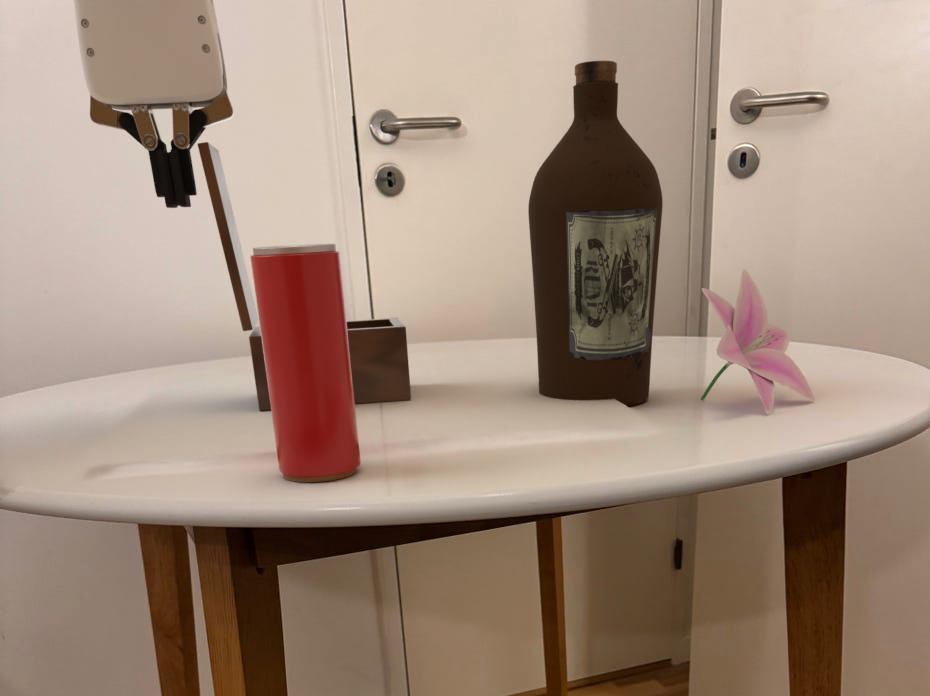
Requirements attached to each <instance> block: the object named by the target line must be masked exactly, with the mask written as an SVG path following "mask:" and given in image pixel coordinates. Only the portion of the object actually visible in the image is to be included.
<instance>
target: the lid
mask: <svg viewBox="0 0 930 696" xmlns="http://www.w3.org/2000/svg"><path fill="white" fill-rule="evenodd" d="M197 147H198V149H197V150H198V152H199V157H200V161H201V164H202V169H203V173H204V178H205V181H206V185H207V189H208V194H209V198H210V201H211V205H212V209H213V214H214V219H215V222H216V226H217V230H218V235H219V238H220V242H221V247H222V250H223V255H224V260H225V264H226V267H227V271H228V275H229V280H230V283H231V288H232V292H233V297H234V300H235V304H236V308H237V312H238V317H239V320H240V324H241V329H242V331H243V332H247V331H253V330H254V328H255V327H256V325H257V323H258V321H259V316H258V311H257V308H256V304H255V299H254V296H253V290H252V287H251V283H250V278H249V274H248V270H247V266H246V262H245V257H244V252H243V249H242V244H241V240H240V236H239V231H238V228H237V224H236V223H237V222H236V219H235V215H234V211H233V206H232V203H231V198H230V194H229V190H228V189H229V188H228V184H227V181H226V176H225V173H224V168H223V163H222V159H221V156H220V155H221V154H220V151H219V150H218V149H217V148H216V147H215V146H213V145H212V144H211V143H209V142H208V141H205V142H198V143H197Z"/></svg>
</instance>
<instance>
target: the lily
mask: <svg viewBox="0 0 930 696" xmlns="http://www.w3.org/2000/svg"><path fill="white" fill-rule="evenodd" d="M701 291H702V293H703V295H704V296H705V297H706V299H707V301H708V302H709V303H710V305H711V306H712V308H713V310H714V311H715V313H716V314H717V316H718V317H719V319H720V321H721V323H722V324H723V325H724V327H725V330H724V333H723V334H722V336H721V338H720V340H719V342H718V344H717V347H716V355H717V356H718V358H720V359H722V360H724V361H725V362H726V363H725V364H724V365H723V367H721V369H719V371H718V372H717V373H716V375H715V376H713V378H712V380H711V382H710V383H709V385H708V386H707V388H706V389H705V390H704V392H703V394H702V396H701V397H700V400H701V401H705V399H706V397H707V396H708V395H709V392H710V391H711V390H712V388H713V387H714V385H715V384H716V382H717V381H718V379H719V378H720V376H722V374H723V373H724V372H725V371H726V370H727V369H728V368H729V367H730V366H731V365H733V364H735V365H738V366H740V367H743V368H744V369H746V370H747V371H748V374H749V375H750V378H751V379H752V381H753V383H754V386H755V388H756V391H757V393H758V395H759V397H760V400H761V403H762V405H763V408H764V410H765V412H766V414H767V416H769V415H771V413H772V410H773V407H774V403H775V396H776V387H775V383H776V384H779V385H781V386H784V387H786V388H788V389H790V390H791V391H794V392H795V393H797V394H798V395H800V396H801V397H803V398H805V399H806V400H808V401H809V402H812V403H815V402H816V400H815V396H814V393H813V391H812V388H811V387H810V385H809V383H808V380H807V379H806V378H805V376H804V373H803V372H802V371H801V369H800V367H799V366H798V365H797V364H796V363H795V361H794V359H792V358H791V357H790V356H789V355H787V353H786V351H787V349H788V347H789V344H790V340H791V339H790V335H789V333H788V332H787V331H785V329H783V328H781V327H779V326H777V325H774V324H772V323H769V318H768V311H767V308H766V304H765V300H764V299H763V297H762V295H761V292H760V290H759V288H758V286H757V284H756V282H755V281H754V279H753V278H752V276H751V274H750V273H749V272H748V271H747V270H746V269H742V272H741V276H740V284H739V288H738V293H737V297H736V301H735V305H734V306H733V304H732V303H731V302H729V301H728V300H727V299H725V298H724V297H722V296H721V295H719V294H718V293H717V292H714V291H712V290H711V289H708V288H705V287H702V288H701Z"/></svg>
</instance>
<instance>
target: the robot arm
mask: <svg viewBox="0 0 930 696" xmlns="http://www.w3.org/2000/svg"><path fill="white" fill-rule="evenodd" d="M73 3H74V13H75V22H76V31H77V38H78V45H79V53H80V60H81V66H82V70H83V75H84V81H85V84H86V87H87V90H88V92H89V97H90V98H89V118H90V120H91V121H92V122H93V123H94V124H96V125H98V126H102V127H107V128H110V129H111V128H112V129H116V130H122V131H124V132H126V133H127V134H129V135H130V136H131V137H132V138H133V139H134V140H135V141H137V142H138V143H139V144H140V145H141V146H142V147H143V148H144V149H145V150H146V151H148V156H149V163H150V168H151V173H152V179H153V183H154V185H153V186H154V191H155V195H156V197H157V198H164V203H165V206H166V208H167V209H178V207H181V208H191V207H192V202H191V196H197V194H198V193H197V186H196V179H195V174H194V167H193V161H192V156H191V155H192V154H191V151H192V150H193V149H194V145H196V143H197V141H198V140H199V138H200V137H201V136H202V134H203V133H204V131H205V130H206V129H207V128H208V127H211V126H215V125H219V124H220V123H221V124H222V123H224V122H226V121H229V120H232V119H233V118H234V116H235V110H234V108H233V107H234V106H233V105H232V102H231V99H230V96H229V94H228V80H227V70H226V65H225V58H224V52H223V46H222V41H221V36H220V29H219V25H218V19H217V14H216V9H215V4H214V0H73ZM194 108H197V109H194ZM153 110H172V111H171V113H172V115H171V116H172V140H171V141H169V142H170V148H171V149H170V151H168V147H167V143H165V142H164V141H163V140H162V137H161V133H160V129H159V127H158V123H157V120H156V117H155V114H154V111H153ZM126 111H131V113H130V112H126Z"/></svg>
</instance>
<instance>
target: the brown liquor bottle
mask: <svg viewBox="0 0 930 696" xmlns="http://www.w3.org/2000/svg"><path fill="white" fill-rule="evenodd" d="M617 71H618V63H617V62H616V61H614V60H590V61H583V62H579V63H577V64H575V65H574V76H575V85H573V86H572V89H573V91H572V92H573V94H572V95H573V119H572V123H571V124H570V126H569V128H568V129H567V131H566V132H565V134H564V135H563V136H562V137H561V139H560V140H559V142H558V143H557V144H556V146H554V148H553V150H551V152H549V155H548V156H547V157H546V158H545V159H544V161H543V162H542V164H541V166H540V167H539V168H538V170H537V172H536V174H535V176H534V179H533V182H532V186H531V190H530V193H529V200H528V209H527V210H528V227H529V240H530V241H529V242H530V255H531V269H532V270H531V271H532V285H533V299H534V315H535V316H534V317H535V332H536V333H535V334H536V350H537V351H536V352H537V353H536V354H537V372H538V373H537V375H538V376H537V377H538V392H539V393H538V394H539V395H541V396H543V397H545V398H549V399H550V398H551V399H556V400H565V401H606V400H615V401H617V402H618V403H620V404H622V405H625V407H631V406H636V405H639V404H642V403H645V402H646V401H647V400H648V399H649V397H650V385H651V384H650V382H651V366H652V348H653V331H654V318H655V307H656V305H655V304H656V293H657V280H658V277H657V276H658V265H659V255H660V254H659V253H660V244H661V243H660V242H661V241H660V240H661V230H662V219H663V204H664V203H663V201H664V200H663V192H662V187H661V183H660V179H659V175H658V171H657V169H656V167H655V165H654V164H653V162H652V161H651V159H650V158H649V157H648V155H647V154H646V152H644V150H643V149H642V148H641V147H640V146H639V144H638V143H637V141H635V139H633V137H632V136H631V135H630V134H629V132H628V131H627V130H626V129H625V128H624V126H623V125H622V124H621V122H620V120H619V118H618V104H619V103H618V101H619V100H618V98H619V83H618V82H616V78H617V76H616V75H617V73H618V72H617Z"/></svg>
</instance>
